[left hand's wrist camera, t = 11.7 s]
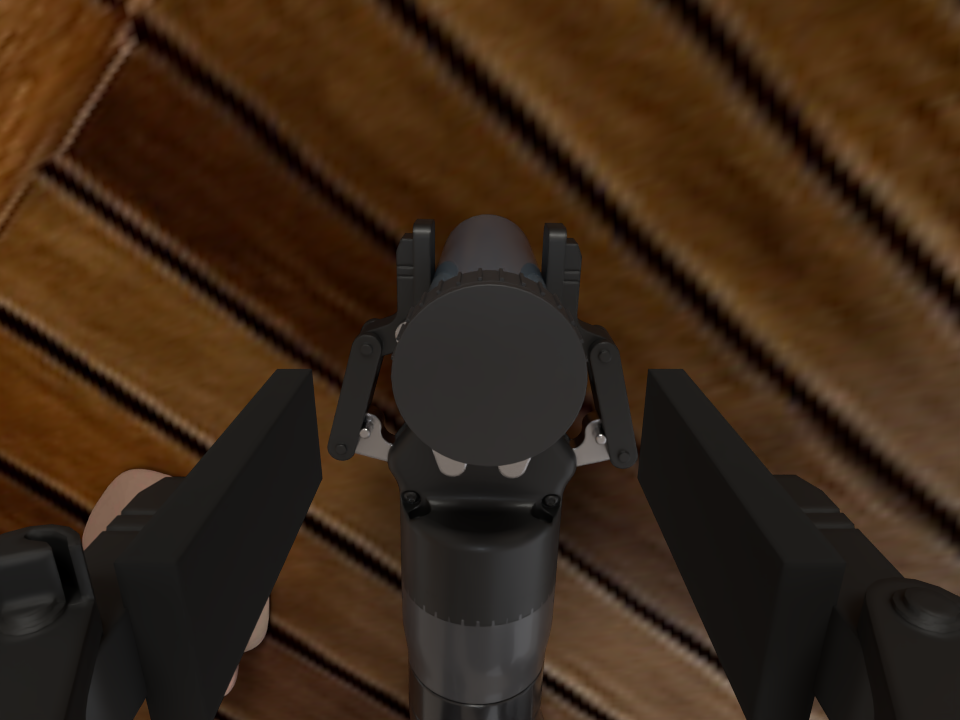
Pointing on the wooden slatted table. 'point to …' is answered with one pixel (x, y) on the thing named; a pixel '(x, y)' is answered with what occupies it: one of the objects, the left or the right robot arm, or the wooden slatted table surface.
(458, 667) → the right robot arm
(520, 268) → the jar
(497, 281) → the lid
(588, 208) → the wooden slatted table surface
